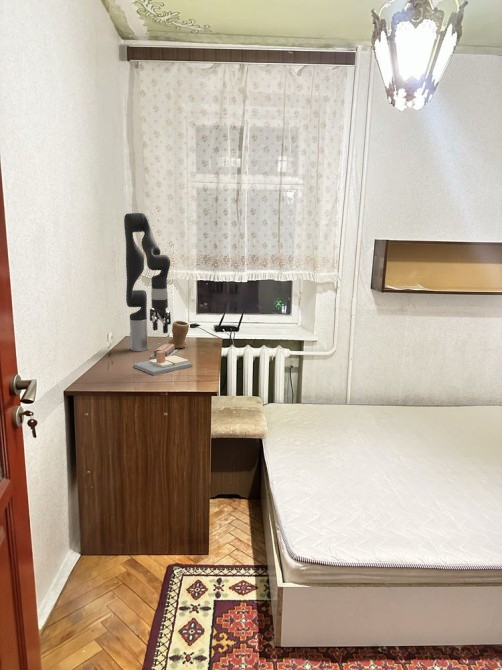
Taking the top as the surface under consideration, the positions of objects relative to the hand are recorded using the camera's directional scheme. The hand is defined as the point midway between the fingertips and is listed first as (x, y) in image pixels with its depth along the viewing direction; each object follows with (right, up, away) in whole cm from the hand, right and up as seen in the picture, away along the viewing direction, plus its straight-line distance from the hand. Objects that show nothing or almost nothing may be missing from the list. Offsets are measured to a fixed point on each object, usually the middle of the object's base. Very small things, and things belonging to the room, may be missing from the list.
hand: (160, 331), depth 211 cm
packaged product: (-3, -13, +27) cm, 30 cm away
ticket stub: (0, -16, +3) cm, 16 cm away
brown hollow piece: (+1, -8, +45) cm, 46 cm away
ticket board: (+1, -17, +5) cm, 18 cm away
